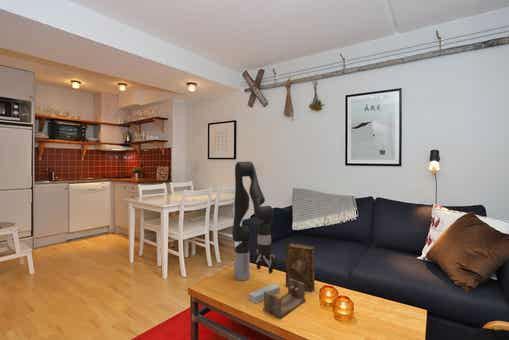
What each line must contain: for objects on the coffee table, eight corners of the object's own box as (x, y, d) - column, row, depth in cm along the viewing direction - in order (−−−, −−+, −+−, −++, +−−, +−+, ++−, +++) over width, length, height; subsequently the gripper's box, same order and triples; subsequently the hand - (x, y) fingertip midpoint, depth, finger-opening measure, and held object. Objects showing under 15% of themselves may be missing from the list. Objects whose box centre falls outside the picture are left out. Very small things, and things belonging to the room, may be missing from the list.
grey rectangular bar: (249, 300, 146) (249, 293, 145) (273, 290, 157) (273, 283, 156) (254, 304, 142) (254, 297, 141) (279, 293, 153) (279, 286, 152)
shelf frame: (263, 310, 135) (263, 291, 135) (288, 294, 151) (288, 277, 151) (280, 319, 128) (280, 299, 127) (305, 301, 144) (305, 283, 143)
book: (315, 288, 158) (315, 246, 156) (312, 292, 153) (312, 249, 152) (289, 282, 165) (289, 242, 164) (285, 286, 160) (285, 245, 159)
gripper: (250, 241, 150) (250, 269, 150) (269, 246, 140) (270, 276, 141) (259, 238, 155) (259, 265, 156) (278, 243, 146) (278, 272, 146)
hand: (264, 271), depth 148 cm, fingers open, 8 cm apart
